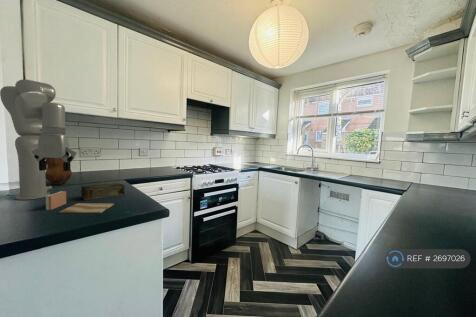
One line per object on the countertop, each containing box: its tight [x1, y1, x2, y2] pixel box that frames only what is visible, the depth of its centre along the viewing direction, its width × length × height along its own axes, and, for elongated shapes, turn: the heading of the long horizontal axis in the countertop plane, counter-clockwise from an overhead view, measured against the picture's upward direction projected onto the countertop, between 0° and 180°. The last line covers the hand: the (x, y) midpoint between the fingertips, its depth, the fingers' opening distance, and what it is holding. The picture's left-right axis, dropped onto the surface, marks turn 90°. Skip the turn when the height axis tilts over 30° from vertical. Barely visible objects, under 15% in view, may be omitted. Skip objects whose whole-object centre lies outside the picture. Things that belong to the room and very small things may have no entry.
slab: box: [45, 190, 67, 211], centre depth 91 cm, size 9×2×6 cm, turn 7°
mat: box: [58, 202, 115, 214], centre depth 90 cm, size 12×16×1 cm
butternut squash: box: [45, 158, 73, 185], centre depth 133 cm, size 14×13×25 cm
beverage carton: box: [80, 182, 126, 201], centre depth 110 cm, size 8×19×7 cm, turn 137°
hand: (55, 170), depth 90 cm, fingers open, 9 cm apart
